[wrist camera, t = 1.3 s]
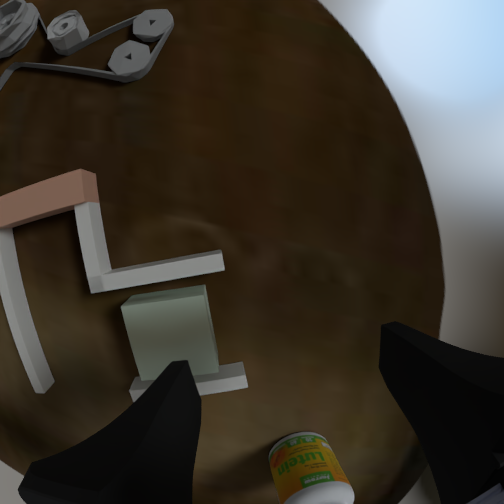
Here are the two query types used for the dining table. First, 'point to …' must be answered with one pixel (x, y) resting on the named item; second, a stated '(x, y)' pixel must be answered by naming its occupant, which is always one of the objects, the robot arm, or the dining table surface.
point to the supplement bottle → (308, 471)
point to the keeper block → (171, 331)
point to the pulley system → (83, 40)
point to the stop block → (48, 198)
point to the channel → (102, 279)
